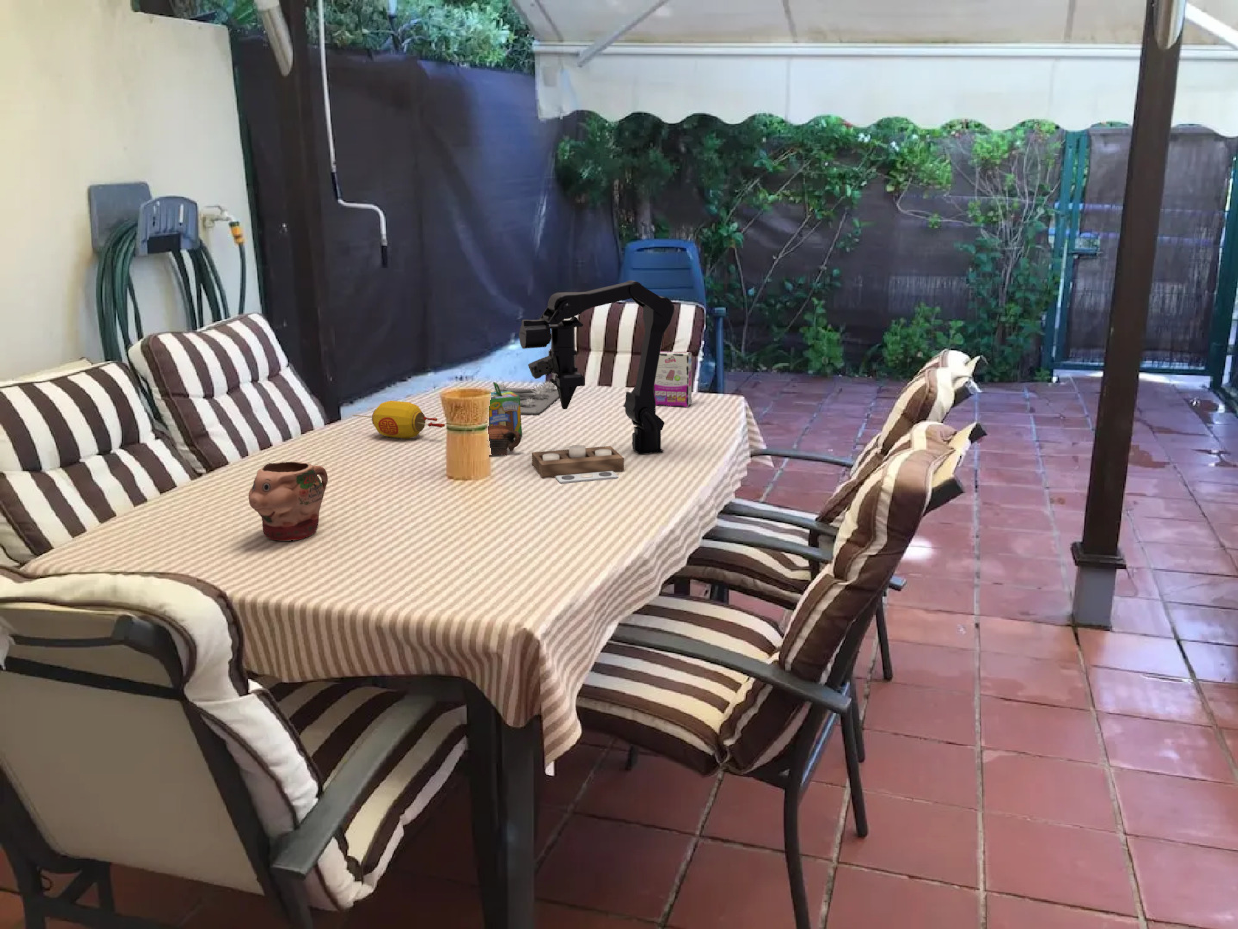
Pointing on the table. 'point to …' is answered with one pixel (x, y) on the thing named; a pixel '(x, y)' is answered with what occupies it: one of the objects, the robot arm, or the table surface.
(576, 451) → the button middle
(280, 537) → the pink animal face cup
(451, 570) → the table surface
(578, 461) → the button board
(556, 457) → the button
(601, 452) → the button
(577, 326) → the robot arm
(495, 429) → the pottery mug
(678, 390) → the candy bar box
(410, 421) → the lantern
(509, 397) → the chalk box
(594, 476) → the card
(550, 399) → the decorative plate
